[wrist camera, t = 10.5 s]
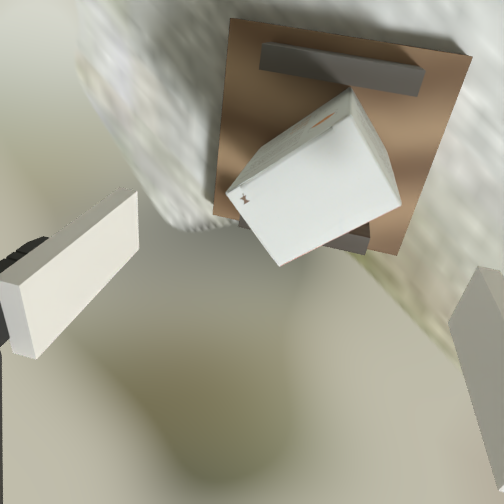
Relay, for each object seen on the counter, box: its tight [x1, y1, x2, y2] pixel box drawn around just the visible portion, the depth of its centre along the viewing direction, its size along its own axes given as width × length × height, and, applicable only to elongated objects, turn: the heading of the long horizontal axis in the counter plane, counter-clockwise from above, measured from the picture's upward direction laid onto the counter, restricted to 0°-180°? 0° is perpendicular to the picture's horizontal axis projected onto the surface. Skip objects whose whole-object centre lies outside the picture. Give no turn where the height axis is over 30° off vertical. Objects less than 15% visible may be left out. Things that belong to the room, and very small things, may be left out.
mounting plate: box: [213, 18, 473, 256], centre depth 29 cm, size 15×16×4 cm
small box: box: [226, 87, 402, 266], centre depth 26 cm, size 8×6×10 cm
